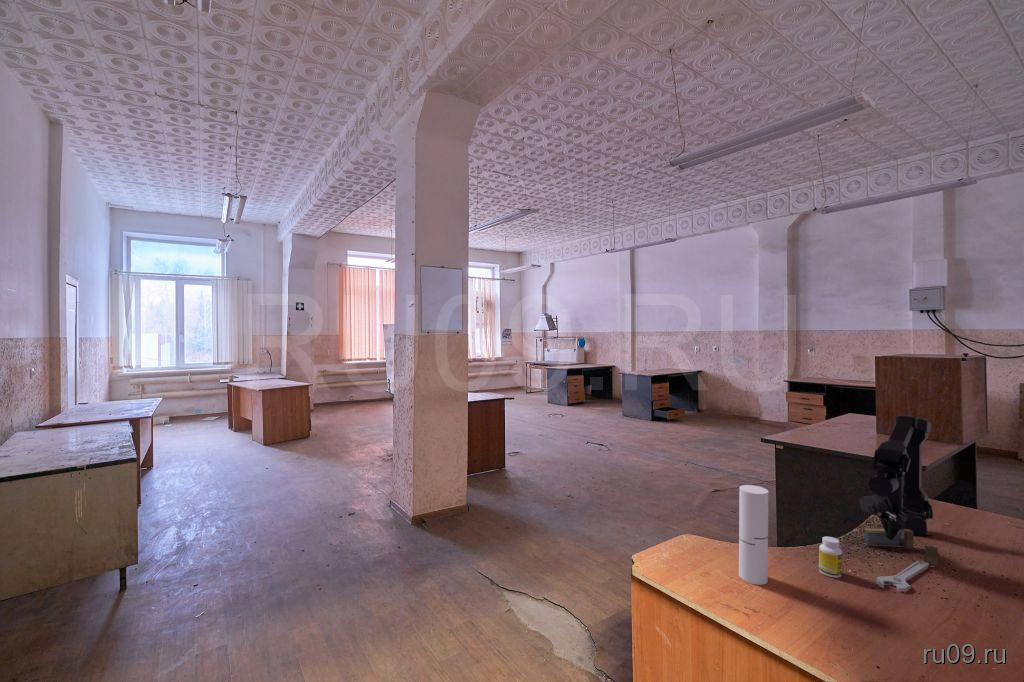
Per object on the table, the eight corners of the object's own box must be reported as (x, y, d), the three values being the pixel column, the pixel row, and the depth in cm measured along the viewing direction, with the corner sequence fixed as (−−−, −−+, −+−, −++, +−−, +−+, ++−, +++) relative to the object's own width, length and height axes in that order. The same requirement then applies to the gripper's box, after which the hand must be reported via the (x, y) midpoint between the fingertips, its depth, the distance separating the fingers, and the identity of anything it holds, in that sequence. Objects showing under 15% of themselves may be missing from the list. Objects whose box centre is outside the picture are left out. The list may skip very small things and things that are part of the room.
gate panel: (901, 544, 147) (901, 529, 147) (905, 546, 146) (905, 531, 146) (864, 542, 148) (864, 528, 148) (867, 545, 147) (868, 530, 147)
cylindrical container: (771, 586, 125) (772, 494, 124) (743, 583, 126) (743, 492, 125) (762, 572, 131) (763, 485, 131) (735, 569, 133) (736, 484, 132)
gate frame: (900, 545, 148) (901, 528, 148) (910, 546, 147) (910, 529, 147) (927, 566, 134) (928, 548, 134) (938, 567, 134) (938, 549, 134)
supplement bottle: (841, 580, 127) (842, 545, 127) (818, 574, 130) (818, 540, 130) (842, 572, 131) (842, 538, 131) (819, 566, 135) (819, 533, 135)
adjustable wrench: (918, 564, 137) (918, 558, 137) (946, 574, 131) (946, 568, 131) (872, 584, 126) (872, 578, 126) (900, 597, 120) (900, 590, 120)
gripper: (842, 479, 150) (842, 526, 151) (890, 500, 132) (889, 554, 132) (876, 478, 150) (875, 526, 151) (928, 499, 132) (927, 553, 132)
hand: (890, 539), depth 141 cm, fingers closed
